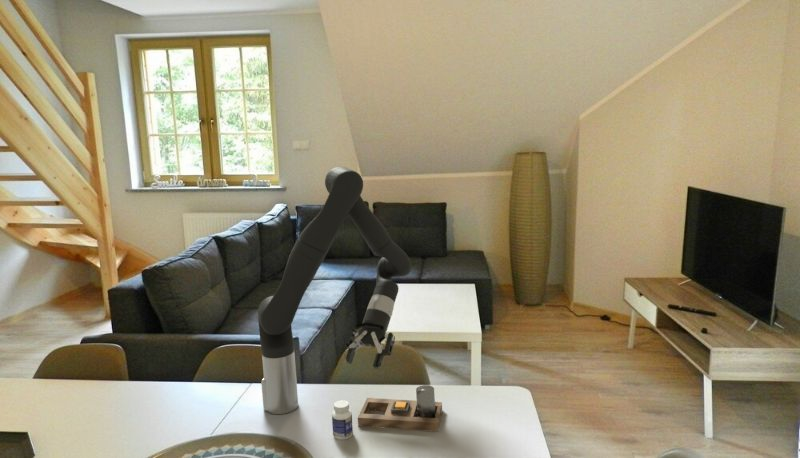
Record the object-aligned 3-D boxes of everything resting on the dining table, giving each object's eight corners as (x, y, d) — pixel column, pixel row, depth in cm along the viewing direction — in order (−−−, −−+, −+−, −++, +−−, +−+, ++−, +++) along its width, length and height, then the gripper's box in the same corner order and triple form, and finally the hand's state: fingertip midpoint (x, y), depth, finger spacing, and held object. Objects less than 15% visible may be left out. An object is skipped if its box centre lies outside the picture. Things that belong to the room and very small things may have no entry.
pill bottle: (349, 441, 140) (347, 409, 138) (330, 439, 141) (328, 408, 139) (355, 429, 145) (353, 399, 144) (336, 428, 146) (335, 398, 145)
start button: (394, 410, 149) (394, 406, 148) (396, 405, 151) (396, 401, 151) (404, 411, 148) (404, 407, 148) (406, 406, 151) (406, 402, 151)
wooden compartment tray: (358, 426, 147) (357, 413, 146) (367, 405, 158) (366, 394, 157) (438, 431, 143) (437, 418, 142) (442, 410, 154) (441, 398, 153)
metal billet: (417, 424, 147) (415, 394, 145) (418, 414, 152) (416, 385, 150) (435, 424, 146) (433, 393, 145) (435, 414, 151) (434, 385, 150)
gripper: (353, 304, 159) (334, 356, 151) (396, 310, 153) (379, 364, 145) (362, 316, 165) (345, 366, 157) (404, 321, 159) (389, 374, 151)
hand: (361, 365), depth 151 cm, fingers open, 8 cm apart
